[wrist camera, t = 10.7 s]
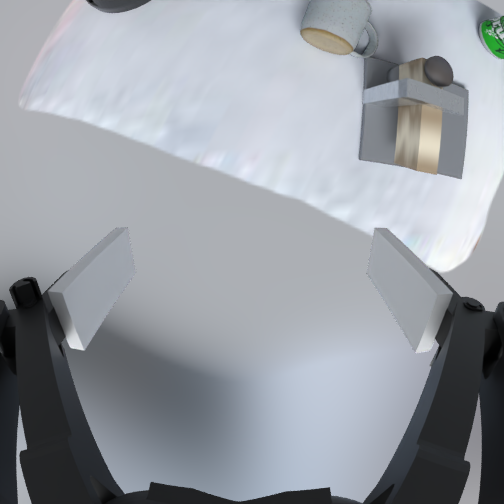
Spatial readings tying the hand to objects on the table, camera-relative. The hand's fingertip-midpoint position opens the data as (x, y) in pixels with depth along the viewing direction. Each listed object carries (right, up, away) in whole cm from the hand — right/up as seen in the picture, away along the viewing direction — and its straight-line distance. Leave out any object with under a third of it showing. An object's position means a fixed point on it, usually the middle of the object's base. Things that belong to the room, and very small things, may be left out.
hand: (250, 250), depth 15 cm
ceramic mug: (+12, +30, +15) cm, 35 cm away
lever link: (+20, +18, +15) cm, 31 cm away
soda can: (+42, +37, +11) cm, 57 cm away
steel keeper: (+19, +21, +18) cm, 33 cm away
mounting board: (+24, +19, +19) cm, 36 cm away
